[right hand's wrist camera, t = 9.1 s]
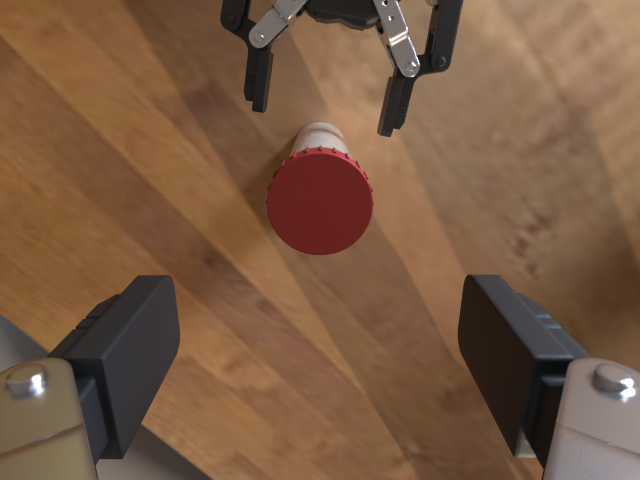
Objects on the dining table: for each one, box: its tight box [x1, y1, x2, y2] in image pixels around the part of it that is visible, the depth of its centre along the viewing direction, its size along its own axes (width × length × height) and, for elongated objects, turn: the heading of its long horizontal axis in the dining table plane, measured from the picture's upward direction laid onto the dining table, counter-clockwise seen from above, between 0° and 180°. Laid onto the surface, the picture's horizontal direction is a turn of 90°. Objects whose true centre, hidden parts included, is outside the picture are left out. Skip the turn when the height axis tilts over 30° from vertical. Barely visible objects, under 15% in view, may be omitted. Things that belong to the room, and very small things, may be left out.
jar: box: [288, 122, 352, 158], centre depth 28 cm, size 4×4×17 cm
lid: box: [266, 145, 374, 255], centre depth 21 cm, size 5×5×2 cm
